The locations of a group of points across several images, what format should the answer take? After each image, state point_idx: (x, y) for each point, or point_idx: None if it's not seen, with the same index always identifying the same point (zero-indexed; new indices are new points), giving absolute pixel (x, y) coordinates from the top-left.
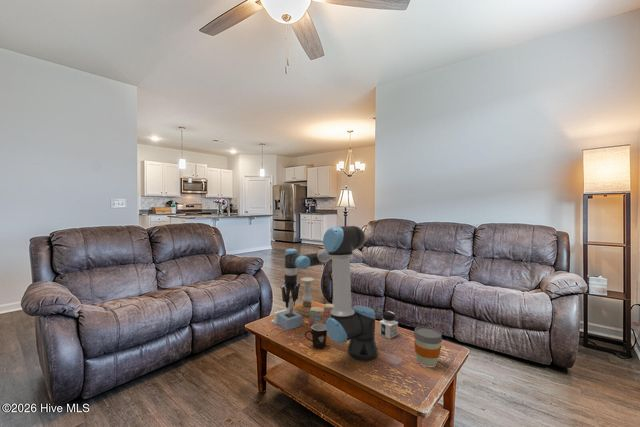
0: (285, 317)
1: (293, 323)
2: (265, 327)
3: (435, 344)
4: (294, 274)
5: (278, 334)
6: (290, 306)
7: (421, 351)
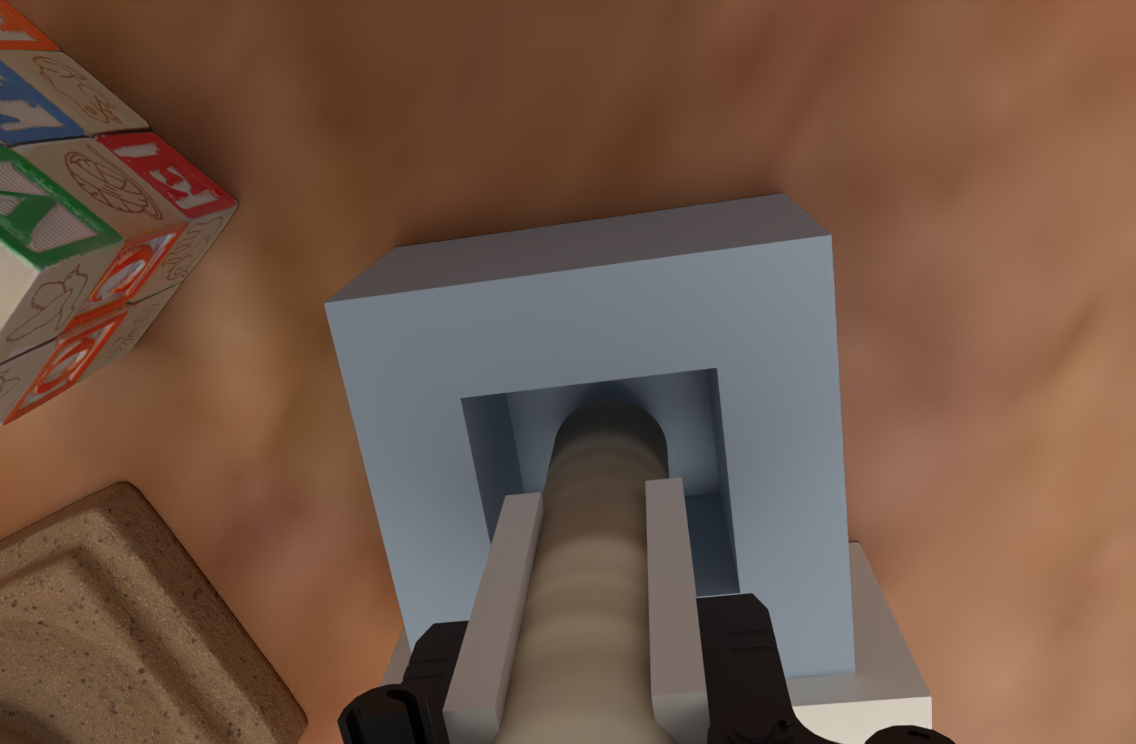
0: (781, 427)
1: (623, 236)
2: (1089, 525)
3: None
4: None
5: (1048, 108)
6: (620, 596)
7: None
